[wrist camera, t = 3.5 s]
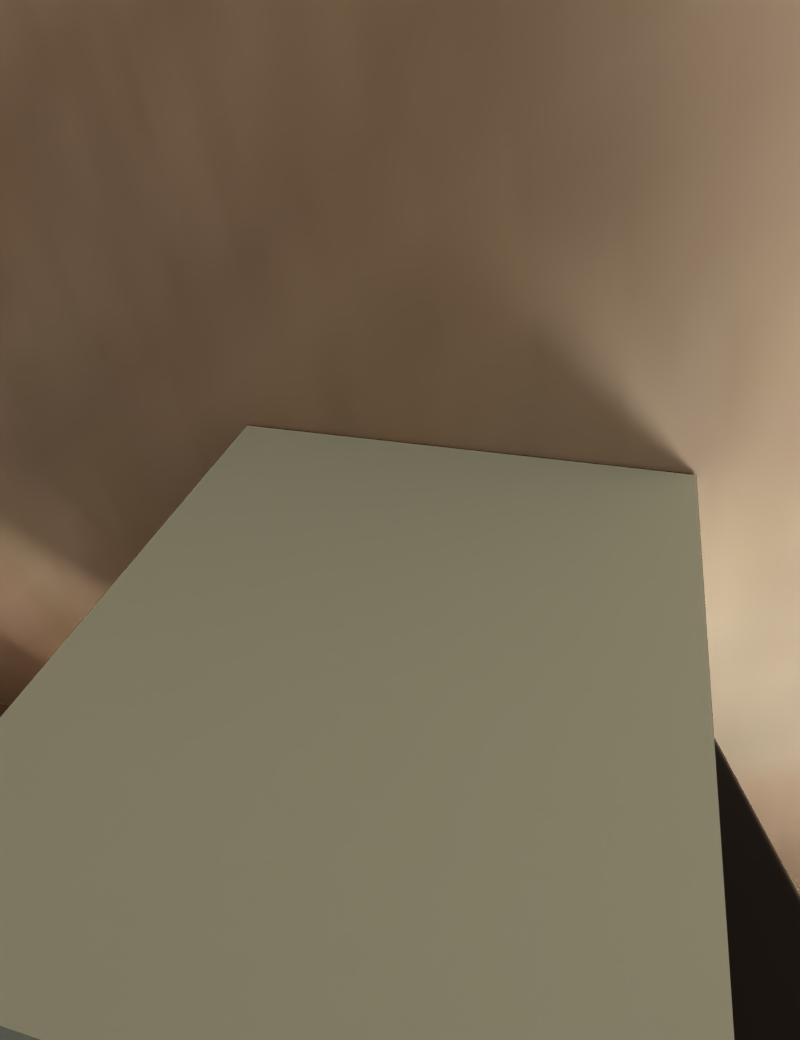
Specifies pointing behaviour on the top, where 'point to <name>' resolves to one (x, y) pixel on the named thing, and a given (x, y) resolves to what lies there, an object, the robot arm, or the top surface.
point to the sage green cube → (376, 763)
